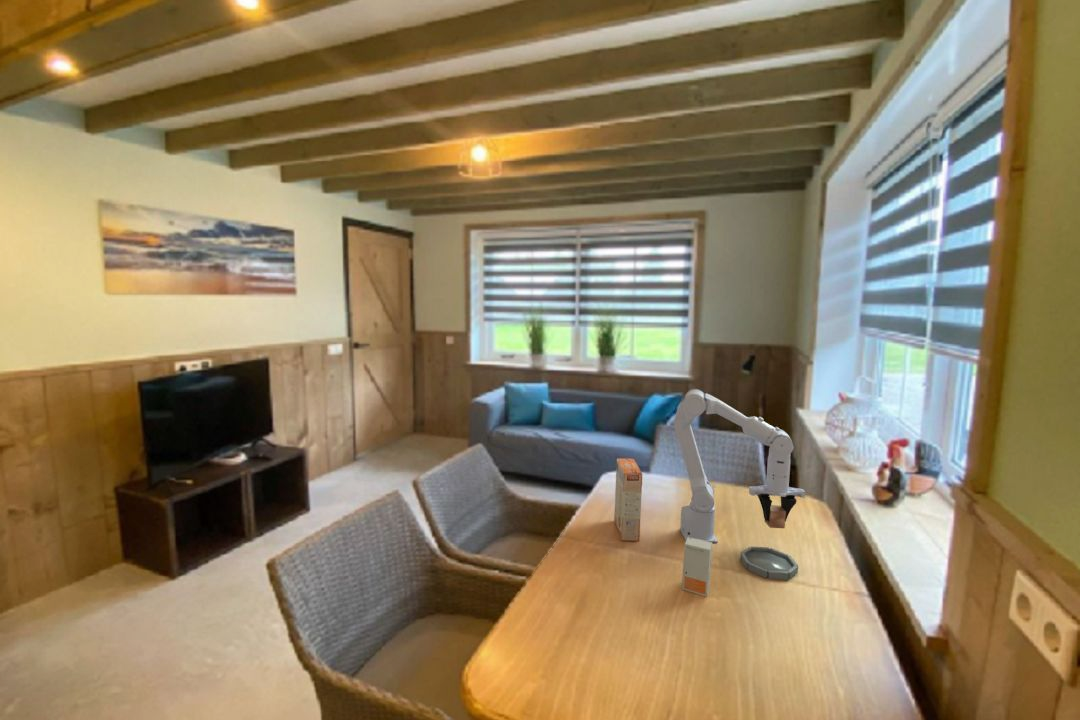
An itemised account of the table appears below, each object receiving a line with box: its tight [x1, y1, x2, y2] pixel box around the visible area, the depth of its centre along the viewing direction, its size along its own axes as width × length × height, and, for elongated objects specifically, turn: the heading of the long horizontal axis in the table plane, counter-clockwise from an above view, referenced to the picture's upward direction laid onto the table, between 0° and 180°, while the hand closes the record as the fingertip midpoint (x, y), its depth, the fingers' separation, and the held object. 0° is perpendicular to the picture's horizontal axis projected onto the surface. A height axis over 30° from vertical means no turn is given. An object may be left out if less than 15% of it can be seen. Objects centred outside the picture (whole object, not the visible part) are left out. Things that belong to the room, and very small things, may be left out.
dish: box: [739, 546, 799, 581], centre depth 127 cm, size 13×13×2 cm
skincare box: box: [681, 537, 714, 597], centre depth 115 cm, size 6×4×12 cm
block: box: [764, 504, 786, 529], centre depth 136 cm, size 4×4×5 cm
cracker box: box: [613, 458, 643, 542], centre depth 145 cm, size 14×6×21 cm, turn 179°
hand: (774, 519), depth 136 cm, fingers closed on block, 4 cm apart
